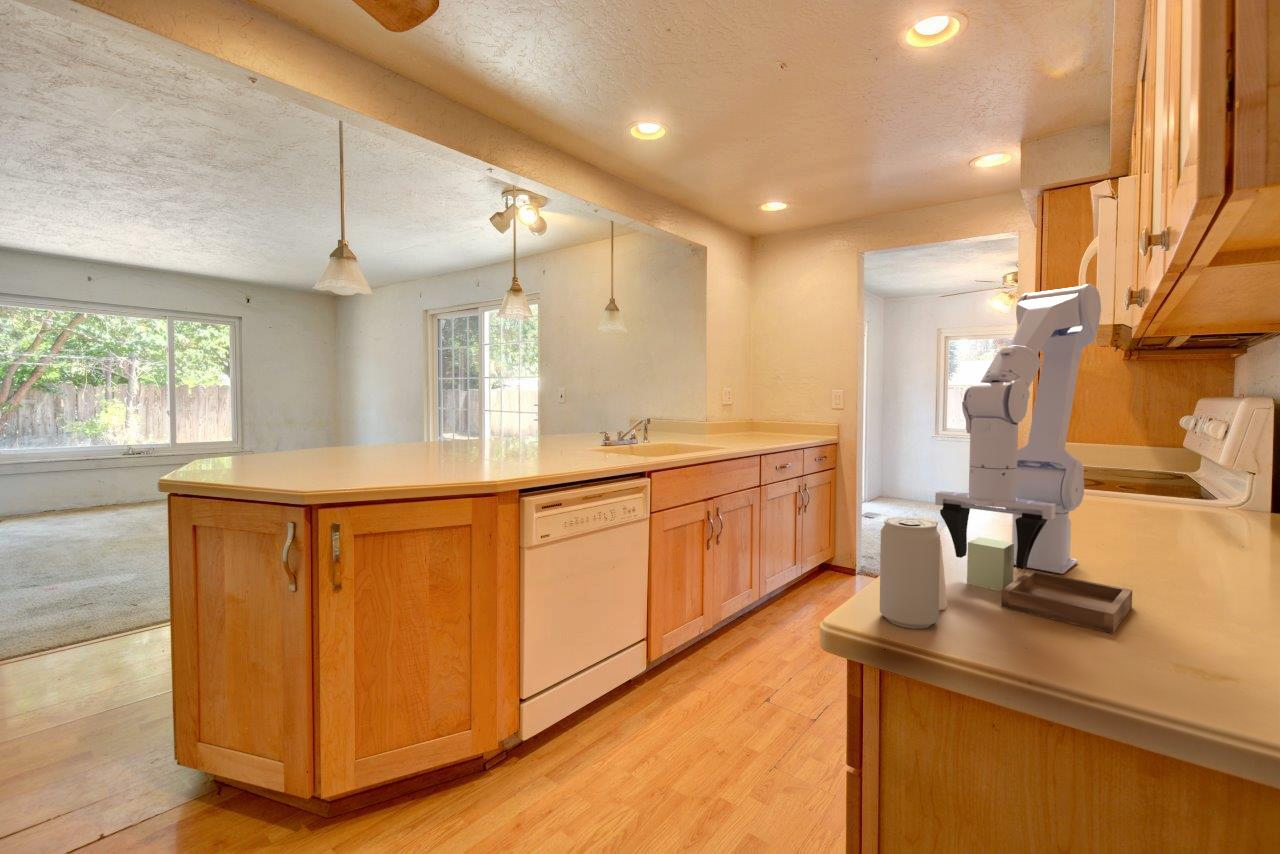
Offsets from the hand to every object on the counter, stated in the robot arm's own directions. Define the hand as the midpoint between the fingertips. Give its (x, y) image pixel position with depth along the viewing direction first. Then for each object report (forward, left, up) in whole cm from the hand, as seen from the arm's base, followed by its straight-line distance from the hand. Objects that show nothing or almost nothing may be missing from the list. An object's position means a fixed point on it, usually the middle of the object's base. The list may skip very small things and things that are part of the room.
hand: (990, 561), depth 80 cm
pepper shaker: (+15, -3, -3) cm, 16 cm away
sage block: (0, 0, -3) cm, 3 cm away
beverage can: (+22, -2, -3) cm, 22 cm away
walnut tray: (+3, +10, -3) cm, 10 cm away
